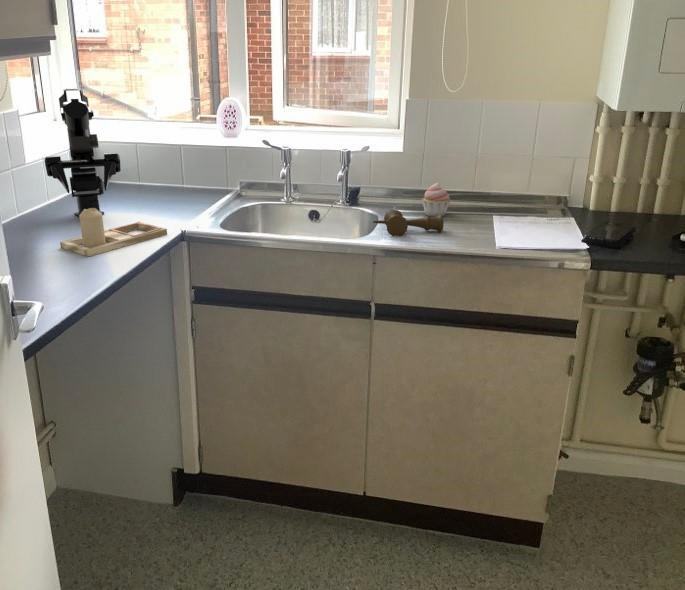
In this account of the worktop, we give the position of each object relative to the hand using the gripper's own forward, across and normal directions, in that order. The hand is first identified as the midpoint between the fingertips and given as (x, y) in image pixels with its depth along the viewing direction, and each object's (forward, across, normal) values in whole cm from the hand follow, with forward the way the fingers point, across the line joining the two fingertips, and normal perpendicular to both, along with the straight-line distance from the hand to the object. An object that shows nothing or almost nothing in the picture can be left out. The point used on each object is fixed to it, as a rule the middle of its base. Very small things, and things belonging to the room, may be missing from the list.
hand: (87, 191), depth 176 cm
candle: (+15, 0, +4) cm, 15 cm away
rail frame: (+12, +6, +6) cm, 15 cm away
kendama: (+26, +83, -7) cm, 88 cm away
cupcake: (+16, +100, +3) cm, 101 cm away
